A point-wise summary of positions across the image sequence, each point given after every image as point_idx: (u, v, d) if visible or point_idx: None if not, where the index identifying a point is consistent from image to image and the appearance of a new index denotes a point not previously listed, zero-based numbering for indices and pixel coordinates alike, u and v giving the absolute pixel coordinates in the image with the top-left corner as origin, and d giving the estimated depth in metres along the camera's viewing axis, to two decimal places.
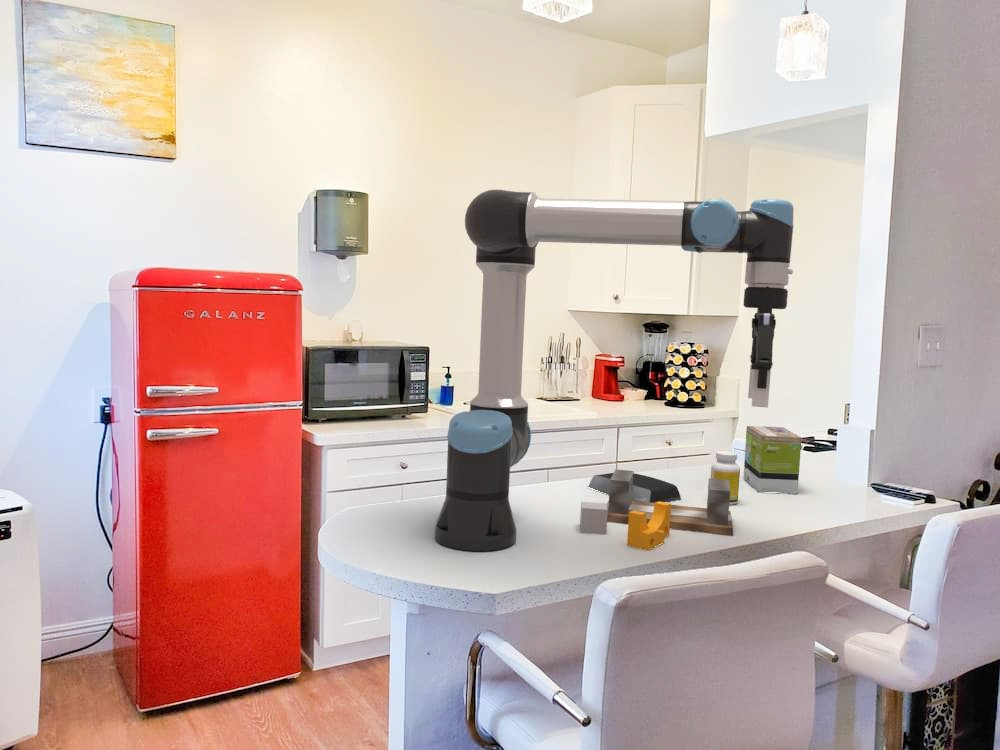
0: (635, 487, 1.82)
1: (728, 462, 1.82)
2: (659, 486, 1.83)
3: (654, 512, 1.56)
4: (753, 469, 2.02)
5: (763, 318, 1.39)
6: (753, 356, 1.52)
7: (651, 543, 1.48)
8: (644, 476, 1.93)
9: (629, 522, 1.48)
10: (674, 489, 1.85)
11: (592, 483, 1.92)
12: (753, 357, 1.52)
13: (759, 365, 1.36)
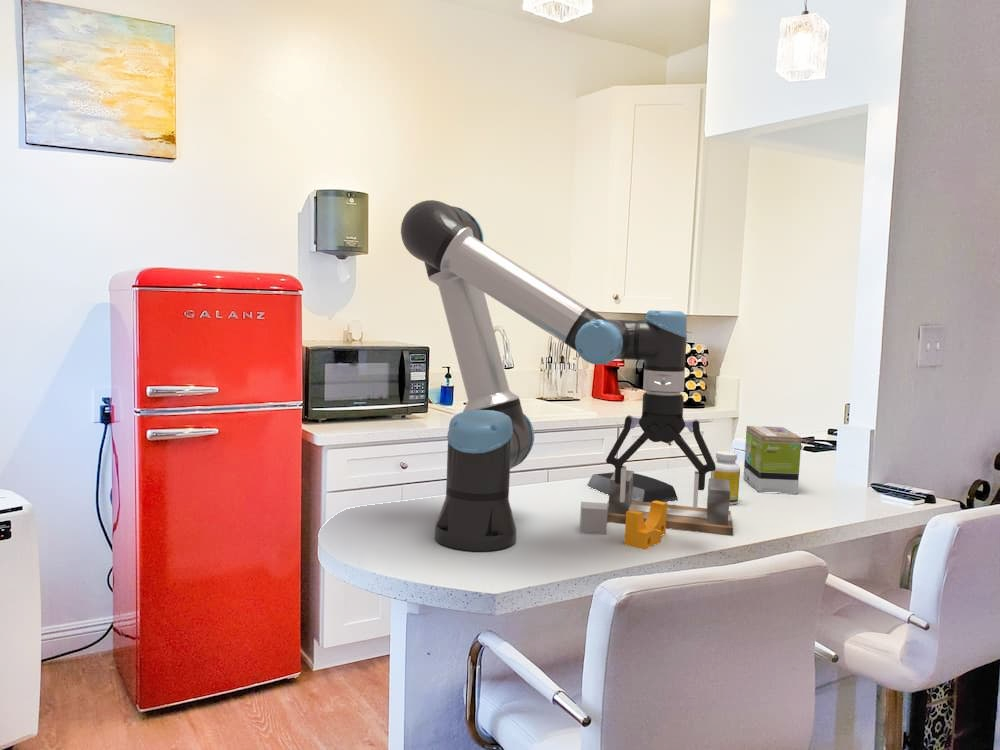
0: None
1: (728, 462, 1.82)
2: (655, 486, 1.83)
3: (650, 511, 1.56)
4: (753, 469, 2.02)
5: None
6: None
7: (648, 542, 1.48)
8: (643, 476, 1.93)
9: (626, 521, 1.49)
10: (670, 489, 1.84)
11: (591, 482, 1.93)
12: None
13: None
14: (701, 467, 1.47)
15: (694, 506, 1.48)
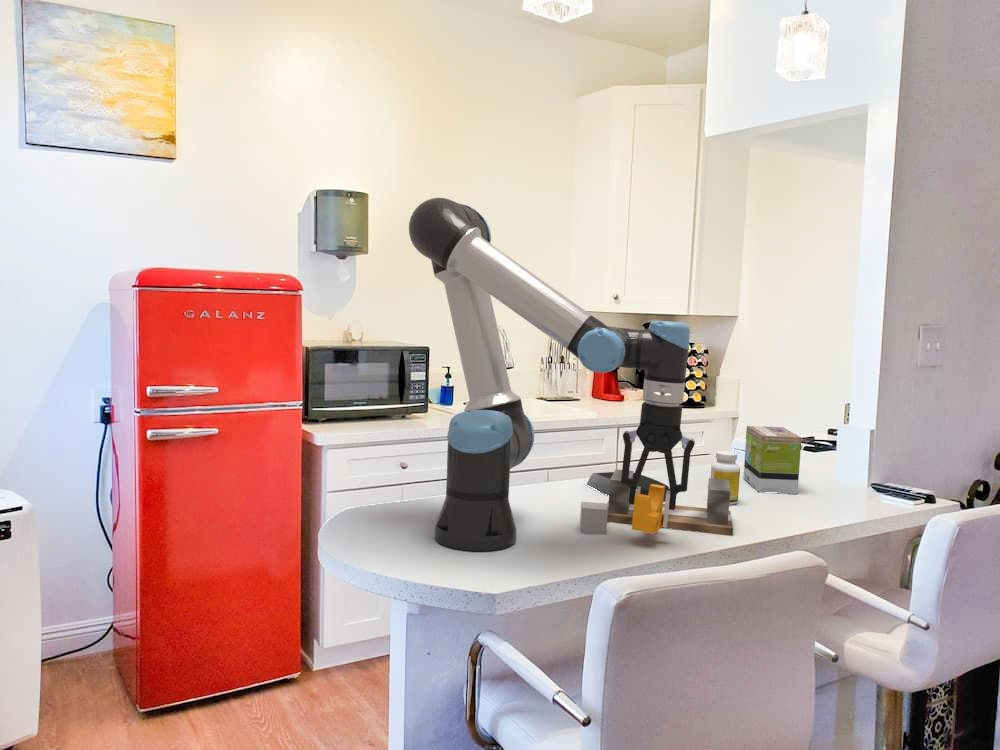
0: None
1: (728, 462, 1.82)
2: (649, 486, 1.83)
3: (649, 495, 1.56)
4: (753, 469, 2.02)
5: None
6: None
7: (655, 526, 1.48)
8: (642, 476, 1.93)
9: (635, 505, 1.48)
10: (666, 490, 1.84)
11: (590, 481, 1.95)
12: None
13: None
14: (674, 487, 1.49)
15: (664, 525, 1.50)
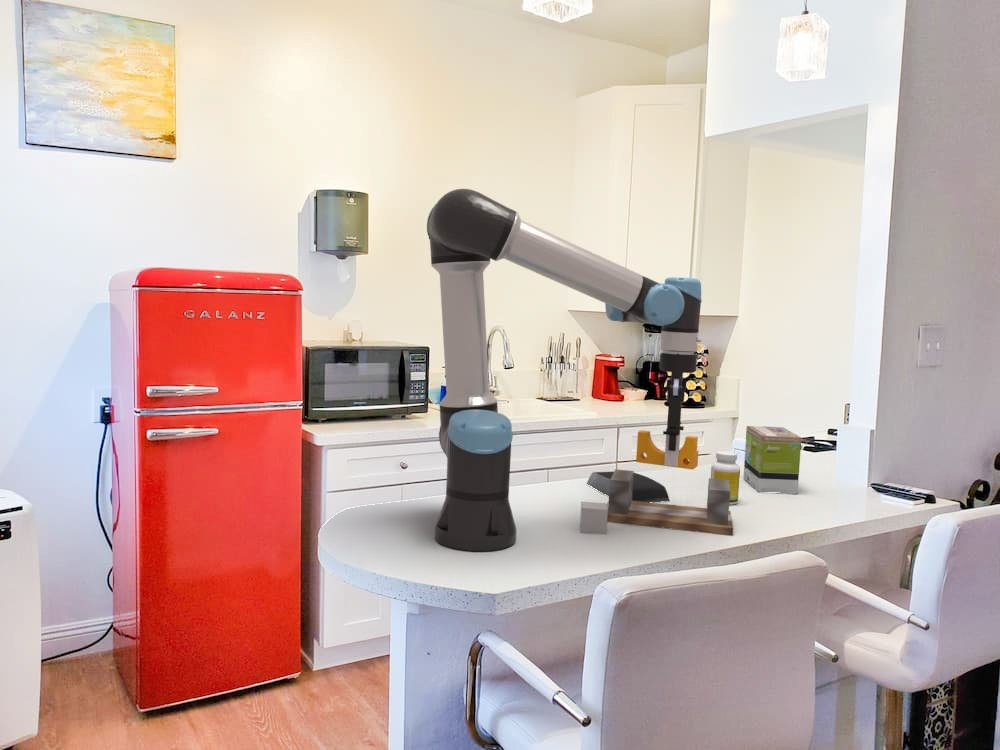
0: None
1: (728, 462, 1.82)
2: (645, 486, 1.83)
3: (648, 441, 1.67)
4: (753, 469, 2.02)
5: (672, 390, 1.59)
6: None
7: None
8: (642, 476, 1.93)
9: (694, 447, 1.62)
10: (661, 490, 1.83)
11: (589, 480, 1.96)
12: None
13: (668, 432, 1.60)
14: None
15: None
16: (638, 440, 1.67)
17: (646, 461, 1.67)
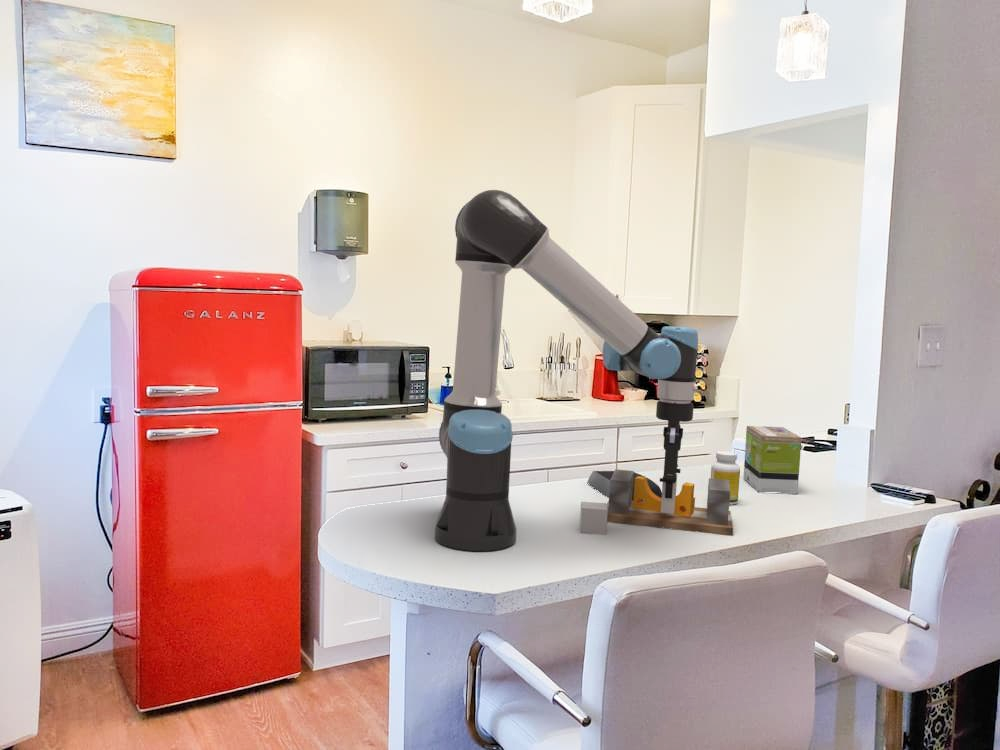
0: None
1: (728, 462, 1.82)
2: None
3: (645, 487, 1.68)
4: (753, 469, 2.02)
5: (669, 438, 1.60)
6: None
7: (684, 506, 1.68)
8: (641, 476, 1.93)
9: (691, 495, 1.63)
10: (656, 490, 1.83)
11: (589, 478, 1.97)
12: None
13: (665, 480, 1.60)
14: None
15: None
16: (635, 486, 1.68)
17: (643, 507, 1.68)
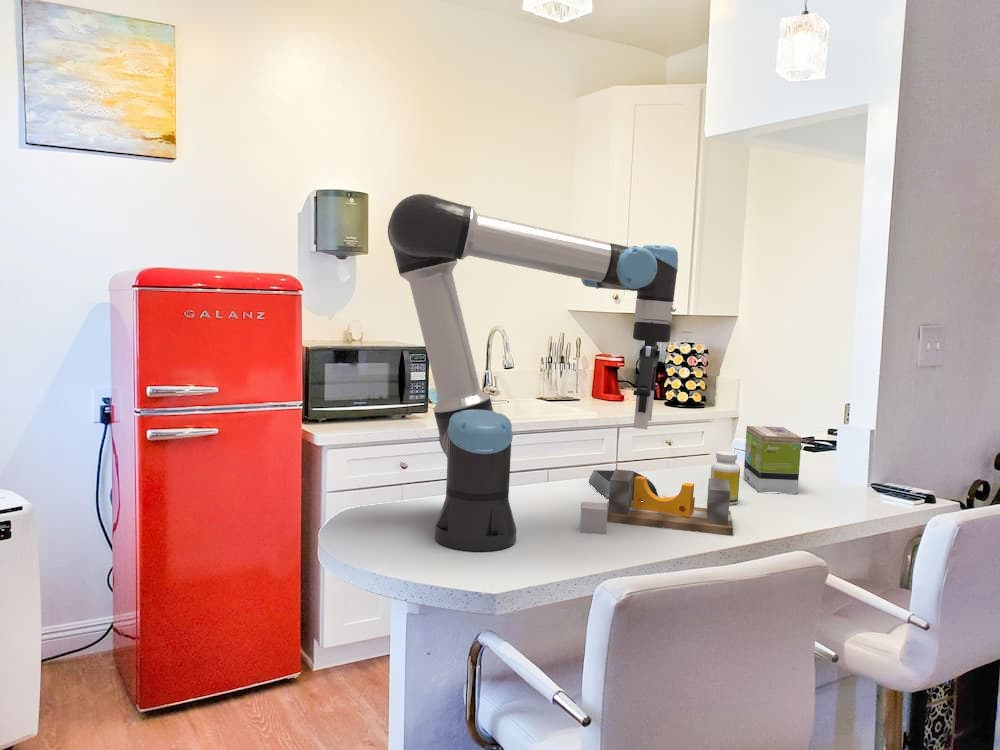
0: (608, 483, 1.85)
1: (728, 462, 1.82)
2: None
3: (645, 487, 1.68)
4: (753, 469, 2.02)
5: (645, 350, 1.57)
6: None
7: (684, 506, 1.68)
8: None
9: (690, 495, 1.63)
10: (651, 490, 1.83)
11: (590, 477, 1.98)
12: None
13: (639, 392, 1.55)
14: (654, 384, 1.71)
15: None
16: (635, 486, 1.68)
17: (643, 507, 1.68)
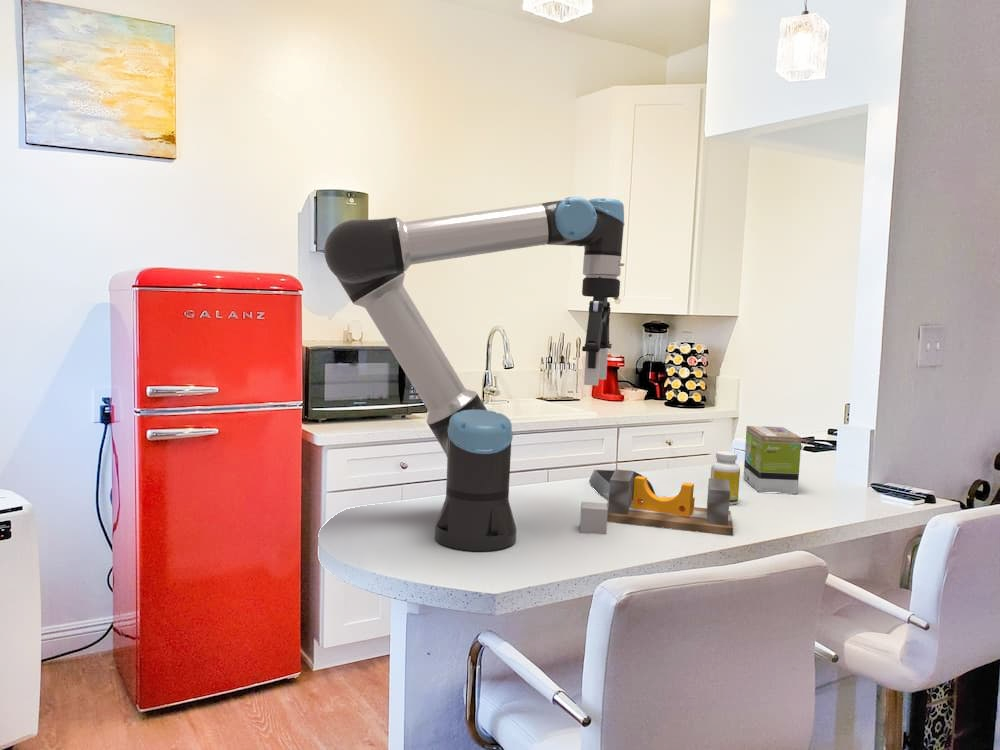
0: (605, 482, 1.86)
1: (728, 462, 1.82)
2: None
3: (645, 487, 1.68)
4: (753, 469, 2.02)
5: (593, 305, 1.54)
6: None
7: (684, 506, 1.68)
8: None
9: (690, 495, 1.64)
10: None
11: (591, 477, 1.99)
12: None
13: (587, 347, 1.52)
14: (607, 342, 1.68)
15: (605, 377, 1.68)
16: (635, 486, 1.68)
17: (642, 507, 1.68)
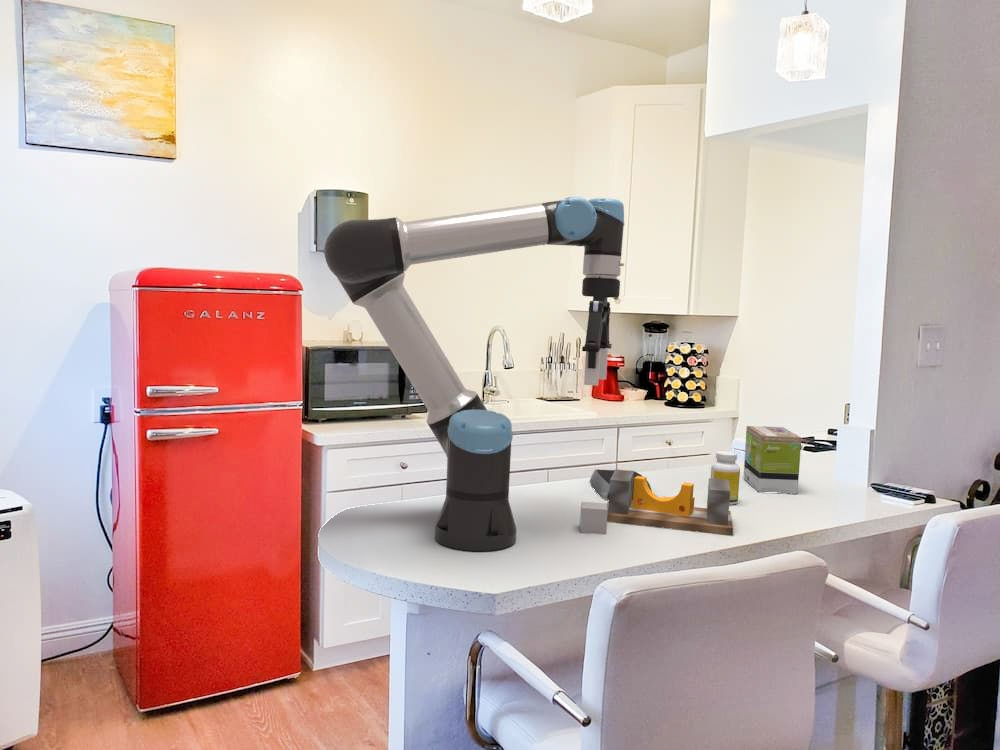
0: (603, 481, 1.86)
1: (728, 462, 1.82)
2: None
3: (645, 487, 1.68)
4: (753, 469, 2.02)
5: (593, 305, 1.54)
6: None
7: (684, 506, 1.68)
8: None
9: (690, 495, 1.64)
10: None
11: (591, 476, 1.99)
12: None
13: (587, 347, 1.52)
14: (607, 342, 1.68)
15: (605, 377, 1.68)
16: (634, 486, 1.68)
17: (642, 507, 1.68)
